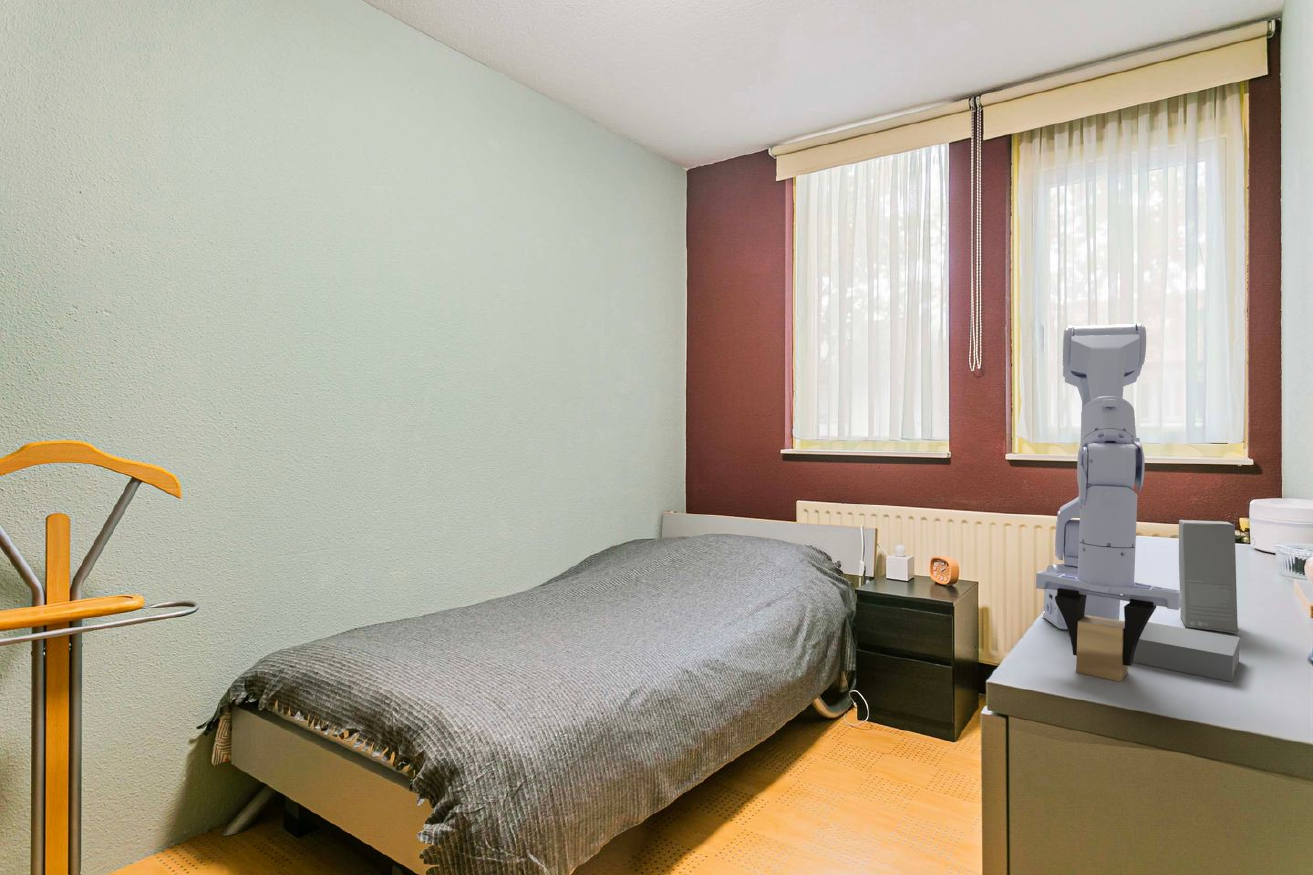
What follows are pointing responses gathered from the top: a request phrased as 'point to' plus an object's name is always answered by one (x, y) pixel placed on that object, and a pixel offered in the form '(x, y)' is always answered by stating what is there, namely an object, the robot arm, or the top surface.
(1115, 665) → the oak block
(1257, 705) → the top surface
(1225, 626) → the skincare box
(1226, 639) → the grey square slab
